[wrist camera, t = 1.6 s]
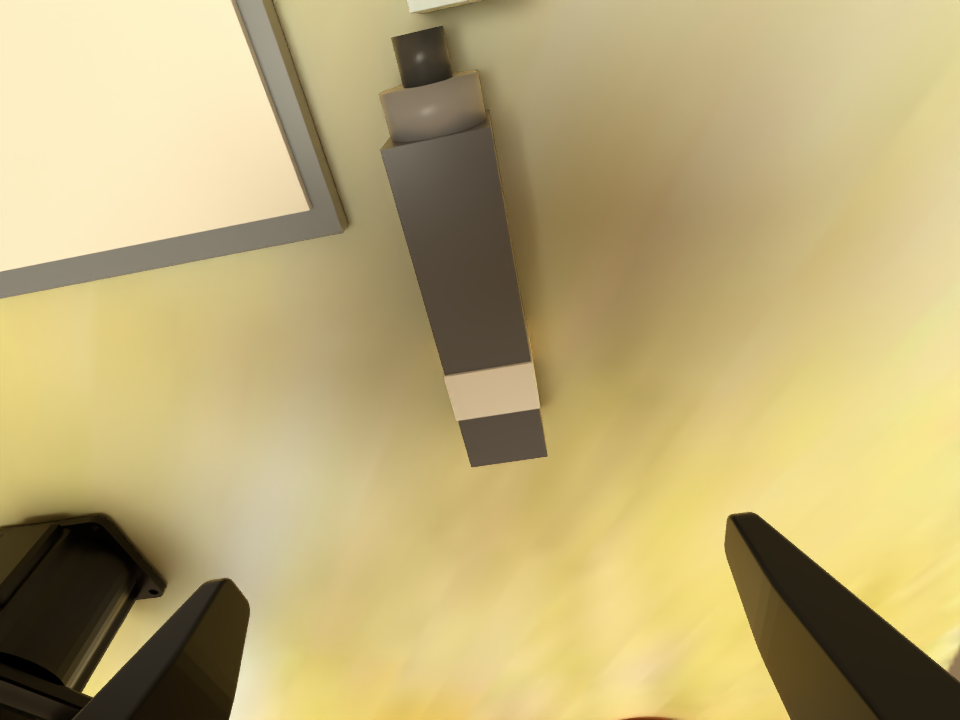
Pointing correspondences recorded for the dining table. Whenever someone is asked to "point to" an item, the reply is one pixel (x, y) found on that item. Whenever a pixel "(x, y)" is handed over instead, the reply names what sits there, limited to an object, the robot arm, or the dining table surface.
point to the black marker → (462, 248)
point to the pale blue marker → (434, 5)
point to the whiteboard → (150, 139)
